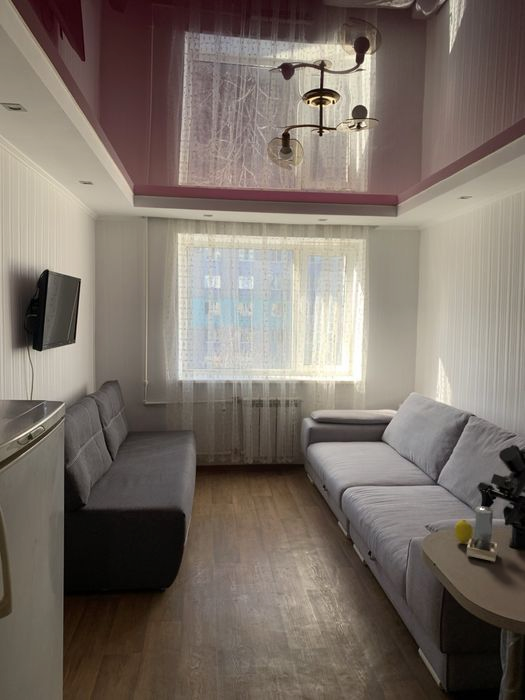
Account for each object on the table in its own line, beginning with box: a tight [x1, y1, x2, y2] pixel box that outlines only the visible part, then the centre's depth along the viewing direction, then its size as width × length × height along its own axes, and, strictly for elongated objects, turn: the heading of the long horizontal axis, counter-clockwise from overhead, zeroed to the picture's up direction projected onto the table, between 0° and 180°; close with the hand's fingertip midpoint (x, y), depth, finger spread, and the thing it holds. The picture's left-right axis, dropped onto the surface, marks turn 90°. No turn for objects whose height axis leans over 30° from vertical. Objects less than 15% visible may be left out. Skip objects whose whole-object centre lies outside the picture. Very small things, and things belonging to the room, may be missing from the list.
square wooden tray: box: [466, 537, 498, 564], centre depth 163 cm, size 8×8×4 cm
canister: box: [474, 505, 494, 552], centre depth 162 cm, size 5×5×13 cm
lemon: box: [454, 519, 474, 545], centre depth 171 cm, size 6×6×8 cm
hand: (492, 519), depth 164 cm, fingers open, 9 cm apart
